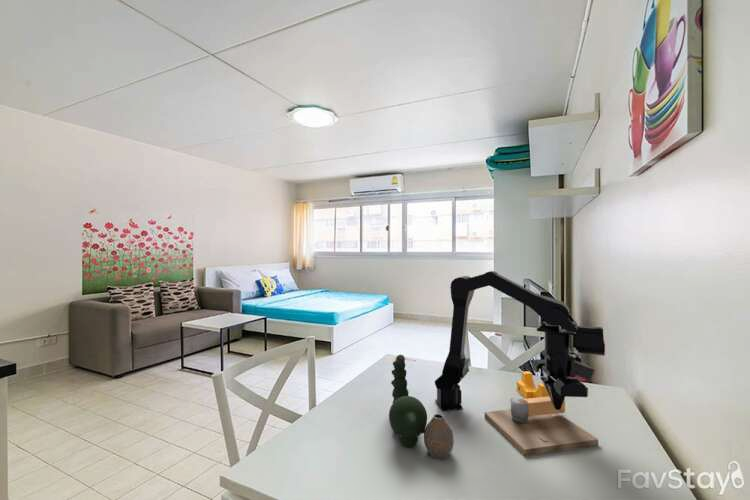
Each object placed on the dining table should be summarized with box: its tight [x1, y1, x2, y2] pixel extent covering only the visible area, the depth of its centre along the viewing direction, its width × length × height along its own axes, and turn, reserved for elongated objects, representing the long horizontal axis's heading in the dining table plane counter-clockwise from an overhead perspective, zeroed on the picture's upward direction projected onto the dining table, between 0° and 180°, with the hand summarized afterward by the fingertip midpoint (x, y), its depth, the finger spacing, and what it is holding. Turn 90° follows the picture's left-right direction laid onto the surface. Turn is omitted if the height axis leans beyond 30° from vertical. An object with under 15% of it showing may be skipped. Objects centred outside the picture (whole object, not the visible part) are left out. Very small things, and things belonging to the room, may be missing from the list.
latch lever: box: [510, 397, 566, 419], centre depth 91 cm, size 16×4×4 cm, turn 101°
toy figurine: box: [388, 354, 428, 448], centre depth 88 cm, size 9×19×25 cm
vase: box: [423, 413, 455, 459], centre depth 79 cm, size 7×7×9 cm
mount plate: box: [484, 408, 599, 457], centre depth 88 cm, size 20×18×3 cm
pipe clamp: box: [516, 370, 549, 399], centre depth 107 cm, size 12×4×6 cm, turn 4°
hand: (557, 409), depth 87 cm, fingers closed
